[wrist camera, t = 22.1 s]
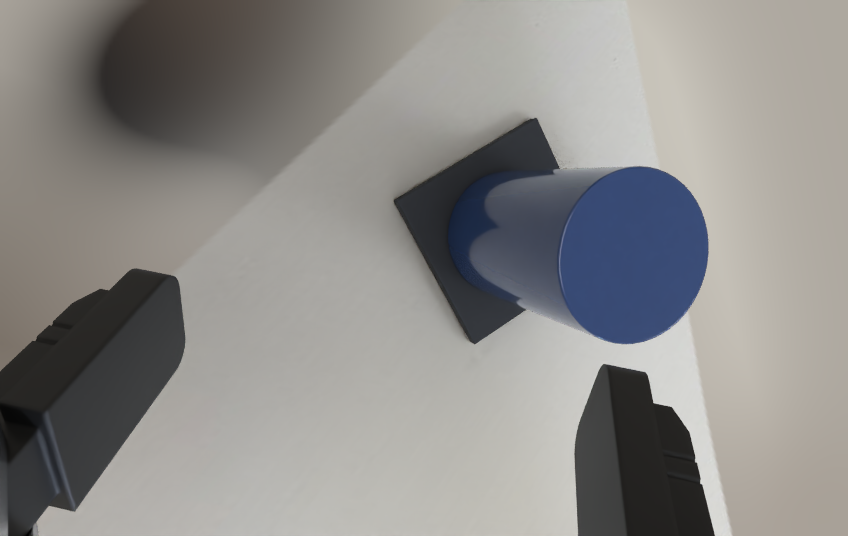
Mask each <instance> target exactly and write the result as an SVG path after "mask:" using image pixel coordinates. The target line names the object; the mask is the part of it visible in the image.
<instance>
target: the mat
mask: <svg viewBox="0 0 848 536" xmlns="http://www.w3.org/2000/svg"><path fill="white" fill-rule="evenodd" d="M544 169H560V168H559V166H558V164H557V162H556V159H555V157H554V155H553V153H552V151H551V148H550V146H549V144H548V142H547V140H546V137H545V135H544V133H543V131H542V129H541V126H540V124H539V122H538V120H537V118H534V119H530V120H528V121H527V122H525V123H523V124H522V125H520V126H518V127H516V128H515V129H513V130H511V131H510V132H508V133H506V134H505V135H503V136H501V137H500V138H498V139H496V140H495V141H493V142H491V143H490V144H488V145H486V146H484V147H483V148H481V149H479V150H478V151H476V152H474V153H473V154H471V155H469V156H468V157H466V158H464V159H463V160H461V161H459V162H458V163H456V164H454V165H452V166H451V167H449V168H447V169H446V170H444V171H442V172H441V173H439V174H437V175H436V176H434V177H432V178H431V179H429V180H427V181H426V182H424V183H422V184H420V185H419V186H417V187H415V188H414V189H412V190H410V191H409V192H407V193H405V194H404V195H402V196H400V197H399V198H397V199H395V200H394V202H395V204H396V206H397V208H398V210H399V212H400V213H401V215H402V217H403V219H404V221H405V223H406V224H407V226H408V228H409V230H410V232H411V234H412V235H413V237H414V239H415V241H416V243H417V245H418V247H419V248H420V250H421V252H422V254H423V256H424V258H425V259H426V261H427V263H428V265H429V267H430V269H431V270H432V272H433V274H434V276H435V278H436V280H437V282H438V283H439V285H440V287H441V289H442V291H443V293H444V294H445V296H446V298H447V300H448V302H449V304H450V305H451V307H452V309H453V311H454V313H455V315H456V317H457V318H458V320H459V322H460V324H461V326H462V328H463V329H464V331H465V333H466V335H467V337H468V339H469V340H470V342H472V343H474V344H476V343H477V342H479V341H480V340H482V339H483V338H485V337H486V336H488V335H489V334H491V333H492V332H494V331H495V330H497V329H498V328H500V327H501V326H503V325H504V324H506V323H507V322H509V321H510V320H511V319H513V318H514V317H516V316H517V315H519V314H520V313H522V312H523V311H525V310H526V309H525V308H522V307H520V306H517V305H515V304H512V303H510V302H507V301H505V300H502V299H500V298H497V297H495V296H492V295H490V294H487V293H485V292H483V291H480V290H478V289H476V288H475V287H473V286H472V285H471V284H469V283H468V282H467V281H466V280H465V279H464V278H463V277H462V276H461V274H460V273H459V271H458V270H457V268H456V266H455V264H454V262H453V260H452V257H451V254H450V250H449V244H448V228H449V222H450V218H451V215H452V211H453V209H454V207H455V205H456V203H457V201H458V200H459V198H460V196H461V195H462V194H463V193H464V191H465V190H466V189H467V188H468V187H469V186H470V185H471V184H473V183H474V182H475V181H477V180H478V179H480V178H482V177H483V176H486V175H488V174H491V173H495V172H499V171H515V170H544Z"/></svg>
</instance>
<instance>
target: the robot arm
mask: <svg viewBox="0 0 848 536" xmlns="http://www.w3.org/2000/svg"><path fill="white" fill-rule="evenodd" d="M184 348H185V331H184V322H183V313H182V304H181V295H180V287H179V282H178V280H177V278H176V277H174V276H171V275H166V274H161V273H156V272H152V271H147V270H141V269H132V270H130V271H129V272H127V273H126V274H125V275H124V276H123V277H122V278H121V279H120V280H119V281H118V282H117V283H116V284H115V285H114V286H113V287H112V288H111V289H110V290H109V291H108V290H103V289H99V290H97V291H95V292H93V293H92V294H89V295H87V296H85V297H83V298H82V299H79V300H78V301H76V302H74V303H72V304H71V305H70V306H69V307H68V308H67V309H66V310H65V311H64V312H63V313H62V314H60V315H59V316H58V317H57V318H56V320H54V321H53V325H52V326H50V325H49V326H48V327H47V328H46V329H45V330H44V331H42V333H40V334H39V335H38V336H37V339H36V341H32V342H31V343H30V344H29V345H28V346H27V347H26V348H25V349H23V350H22V351H21V352H20V353H19V354H18V355H17V356H16V357H15V358H14V359H13V360H12V361H11V362H10V363H9V364H8V365H6V366H5V367H4V368H3V369H2V370H1V371H0V536H39V532H38V526H37V523H36V521H37V520H38V519H39V518H40V516H41V515H42V514H43V512H44V511H45V510H46V508H47V507H48V506H53V507H57V508H61V509H66V510H70V511H74V512H75V510H76V509H77V507H78V506H79V505H80V503H81V502H82V501H83V499H84V498H85V496H86V495H87V494H88V492H89V491H90V489H91V488H92V487H93V485H94V484H95V482H96V481H97V480H98V478H99V477H100V475H101V474H102V473H103V471H104V470H105V469H106V467H107V466H108V464H109V463H110V462H111V460H112V459H113V457H114V456H115V455H116V453H117V452H118V450H119V449H120V448H121V446H122V445H123V444H124V442H125V441H126V439H127V438H128V437H129V435H130V434H131V432H132V431H133V430H134V428H135V427H136V425H137V424H138V423H139V421H140V420H141V418H142V417H143V416H144V414H145V413H146V412H147V410H148V409H149V407H150V406H151V405H152V403H153V402H154V400H155V399H156V398H157V396H158V395H159V393H160V392H161V391H162V389H163V388H164V386H165V385H166V384H167V382H168V381H169V380H170V378H171V377H172V375H173V374H174V373H175V371H176V370H177V368H178V366H179V364H180V362H181V359H182V356H183V353H184ZM575 476H576V498H577V519H578V536H715V535H714V531H713V527H712V523H711V519H710V514H709V510H708V506H707V502H706V498H705V494H704V490H703V486H702V484H700V479H701V478H700V474H699V470H698V466H697V463H695V454H694V450H693V446H692V442H691V437H690V433H689V431H688V430H687V428H686V427H685V425H684V424H683V423H682V421H681V420H680V418H679V417H678V415H677V414H676V413H675V411H674V410H673V408H672V407H668V406H664V405H659V404H654V403H653V399H652V394H651V389H650V383H649V379H648V376H647V374H646V373H645V372H641V371H636V370H631V369H626V368H621V367H616V366H611V365H606V364H603V365H602V366H601V368H600V370H599V372H598V375H597V377H596V380H595V382H594V385H593V388H592V390H591V393H590V396H589V398H588V401H587V404H586V406H585V409H584V412H583V414H582V417H581V419H580V422H579V426H578V430H577V435H576V441H575Z"/></svg>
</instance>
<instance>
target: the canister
mask: <svg viewBox="0 0 848 536" xmlns="http://www.w3.org/2000/svg"><path fill="white" fill-rule="evenodd" d="M448 244H449V250H450V254H451V257H452V260H453V262H454V264H455V266H456V268H457V270H458V271H459V273H460V274H461V276H462V277H463V278H464V279H465V280H466V281H467V282H468V283H469V284H471V285H472V286H473V287H475V288H476V289H478V290H480V291H483V292H485V293H487V294H490V295H492V296H495V297H497V298H500V299H502V300H505V301H507V302H510V303H512V304H515V305H517V306H520V307H522V308H525V309H527V310H530V311H532V312H534V313H537V314H539V315H542V316H544V317H547V318H549V319H552V320H554V321H557V322H559V323H562V324H564V325H567V326H569V327H572V328H574V329H577V330H579V331H582V332H584V333H587V334H589V335H592V336H594V337H597V338H599V339H602V340H604V341H608V342H611V343H617V344H634V343H640V342H644V341H647V340H650V339H653V338H655V337H657V336H659V335H661V334H662V333H664V332H665V331H667V330H668V329H670V328H671V327H672V326H673V325H675V324H676V323H677V322H678V321H679V320H680V319H681V318H682V317H683V316H684V314H685V313H686V312H687V311H688V309H689V308H690V306H691V305H692V303H693V302H694V300H695V298H696V296H697V294H698V292H699V290H700V288H701V285H702V282H703V279H704V276H705V272H706V267H707V261H708V234H707V228H706V224H705V220H704V217H703V214H702V211H701V209H700V207H699V205H698V203H697V201H696V200H695V198H694V196H693V195H692V194H691V192H690V191H689V190H688V189H687V188H686V187H685V185H683V184H682V183H681V182H680V181H679V180H677V179H676V178H675V177H673V176H671V175H670V174H668V173H666V172H664V171H661V170H659V169H655V168H651V167H643V166H630V167H601V168H573V169H544V170H515V171H499V172H495V173H491V174H488V175H486V176H483V177H482V178H480V179H478V180H477V181H475V182H474V183H473V184H471V185H470V186H469V187H468V188H467V189H466V190H465V191H464V193H463V194H462V195H461V196H460V198H459V200H458V201H457V203H456V205H455V207H454V209H453V211H452V215H451V218H450V222H449V228H448Z"/></svg>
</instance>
